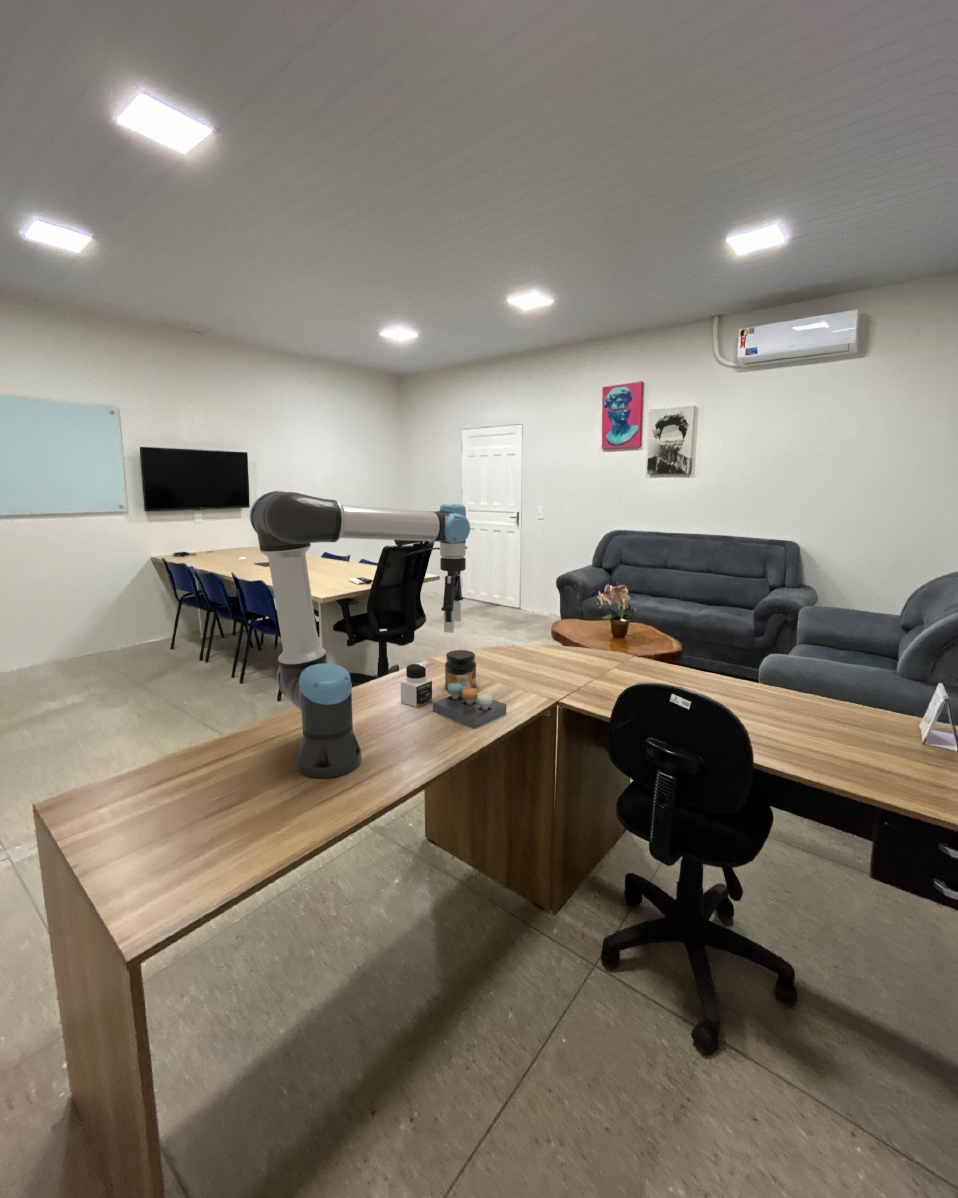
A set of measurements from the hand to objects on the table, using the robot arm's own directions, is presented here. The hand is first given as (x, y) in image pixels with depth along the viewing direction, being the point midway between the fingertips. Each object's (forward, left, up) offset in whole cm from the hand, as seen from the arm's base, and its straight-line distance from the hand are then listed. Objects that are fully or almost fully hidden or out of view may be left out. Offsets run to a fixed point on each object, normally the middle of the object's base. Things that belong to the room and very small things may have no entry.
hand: (452, 626), depth 162 cm
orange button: (-2, -9, -22) cm, 24 cm away
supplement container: (+11, +7, -25) cm, 28 cm away
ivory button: (-2, -15, -22) cm, 27 cm away
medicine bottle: (-7, +9, -25) cm, 27 cm away
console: (-2, -9, -25) cm, 26 cm away
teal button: (-2, -3, -22) cm, 23 cm away
